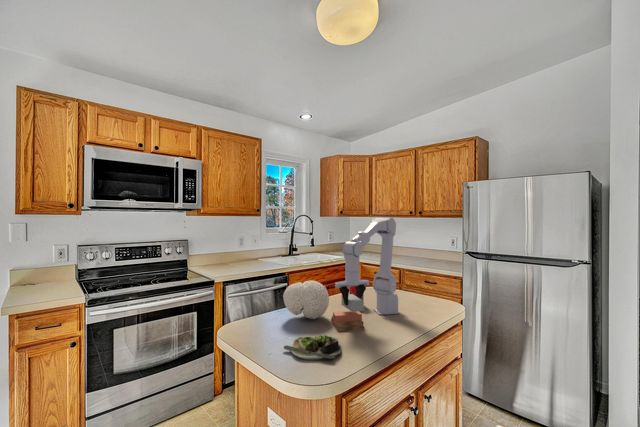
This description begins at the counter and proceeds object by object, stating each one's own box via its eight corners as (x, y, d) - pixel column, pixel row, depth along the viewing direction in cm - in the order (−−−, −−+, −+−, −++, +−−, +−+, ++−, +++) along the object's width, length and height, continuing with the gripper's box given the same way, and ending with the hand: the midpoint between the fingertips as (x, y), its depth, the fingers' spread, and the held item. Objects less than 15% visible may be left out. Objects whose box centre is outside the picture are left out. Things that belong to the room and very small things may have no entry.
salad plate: (280, 364, 93) (280, 349, 93) (286, 340, 111) (286, 327, 111) (343, 364, 93) (343, 349, 93) (339, 339, 111) (339, 327, 111)
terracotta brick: (358, 319, 128) (358, 310, 128) (361, 323, 123) (361, 314, 123) (332, 321, 126) (332, 311, 126) (335, 325, 121) (335, 315, 121)
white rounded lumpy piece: (323, 310, 143) (323, 276, 143) (334, 324, 126) (334, 284, 126) (281, 314, 138) (281, 278, 138) (287, 328, 121) (286, 287, 121)
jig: (355, 319, 132) (355, 313, 132) (364, 329, 120) (364, 323, 120) (331, 320, 130) (331, 314, 130) (337, 331, 118) (337, 325, 118)
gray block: (363, 310, 120) (363, 300, 120) (352, 311, 118) (352, 301, 118) (352, 303, 129) (352, 294, 129) (341, 304, 128) (341, 295, 128)
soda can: (354, 308, 147) (354, 283, 147) (346, 304, 153) (346, 280, 153) (366, 306, 150) (366, 282, 150) (358, 302, 156) (358, 279, 156)
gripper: (363, 268, 130) (363, 299, 130) (332, 270, 125) (332, 303, 125) (371, 271, 123) (371, 304, 124) (339, 273, 118) (339, 308, 118)
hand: (352, 304), depth 124 cm, fingers closed on gray block, 5 cm apart
